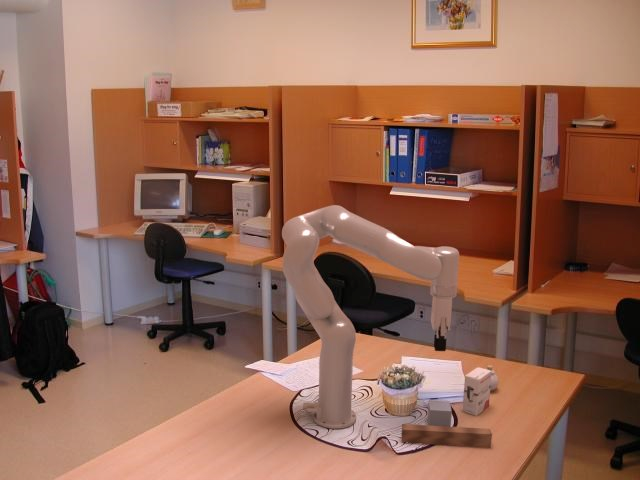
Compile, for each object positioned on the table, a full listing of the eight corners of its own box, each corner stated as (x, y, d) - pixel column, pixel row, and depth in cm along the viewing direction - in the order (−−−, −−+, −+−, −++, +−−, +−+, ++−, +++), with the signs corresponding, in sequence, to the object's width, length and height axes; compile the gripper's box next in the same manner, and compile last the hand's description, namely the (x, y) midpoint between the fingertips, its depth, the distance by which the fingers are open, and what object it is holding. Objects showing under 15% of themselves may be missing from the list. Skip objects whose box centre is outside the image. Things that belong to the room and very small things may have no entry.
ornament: (490, 384, 234) (493, 355, 232) (504, 394, 228) (506, 364, 225) (474, 387, 232) (476, 358, 230) (487, 397, 225) (490, 367, 223)
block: (428, 429, 205) (430, 409, 204) (427, 419, 211) (428, 400, 209) (450, 430, 205) (451, 411, 203) (448, 420, 211) (449, 401, 209)
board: (401, 442, 197) (402, 429, 196) (401, 437, 200) (402, 424, 199) (490, 447, 196) (491, 434, 195) (489, 441, 199) (490, 428, 198)
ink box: (475, 401, 222) (477, 365, 220) (489, 406, 219) (492, 370, 217) (461, 411, 216) (464, 374, 213) (476, 416, 213) (479, 379, 210)
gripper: (428, 280, 216) (425, 338, 221) (432, 297, 201) (428, 359, 205) (453, 282, 216) (449, 339, 220) (459, 298, 201) (455, 360, 205)
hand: (439, 348), depth 213 cm, fingers closed
